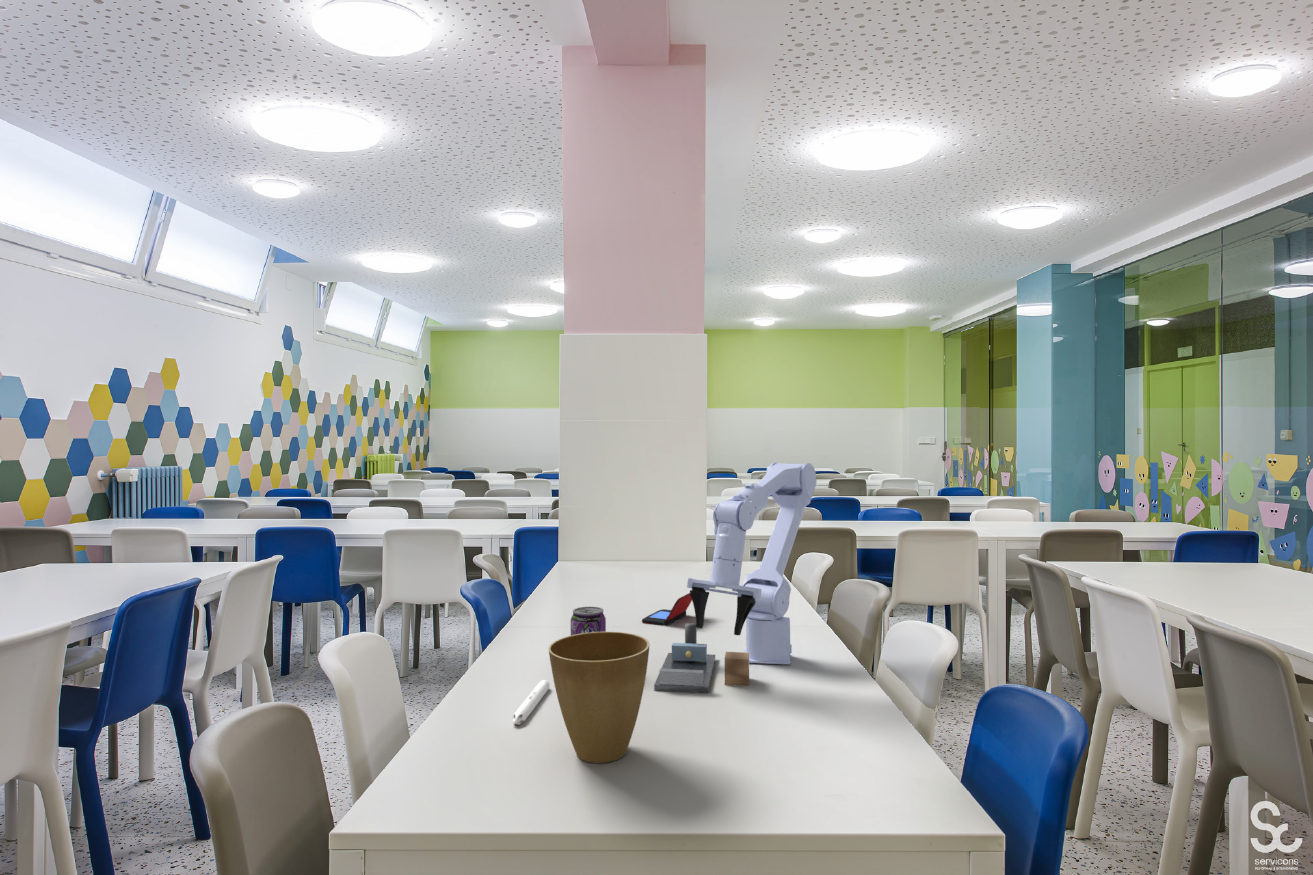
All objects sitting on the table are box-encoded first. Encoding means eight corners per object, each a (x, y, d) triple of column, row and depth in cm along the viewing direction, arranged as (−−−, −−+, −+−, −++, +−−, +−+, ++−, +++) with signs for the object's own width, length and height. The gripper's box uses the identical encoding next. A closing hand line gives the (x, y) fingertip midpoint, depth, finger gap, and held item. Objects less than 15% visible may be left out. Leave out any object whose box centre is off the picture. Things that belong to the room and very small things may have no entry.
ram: (674, 652, 149) (674, 622, 149) (708, 653, 148) (707, 623, 148) (671, 661, 143) (671, 630, 143) (705, 663, 142) (705, 631, 142)
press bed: (668, 657, 150) (668, 640, 150) (715, 659, 148) (715, 642, 148) (654, 690, 130) (654, 671, 130) (708, 692, 129) (708, 673, 129)
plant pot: (598, 724, 115) (598, 625, 115) (670, 749, 105) (669, 641, 105) (527, 755, 103) (527, 646, 103) (601, 787, 94) (600, 666, 94)
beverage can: (563, 671, 141) (563, 611, 141) (583, 662, 147) (583, 604, 147) (593, 677, 138) (593, 615, 138) (612, 666, 144) (612, 608, 144)
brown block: (749, 678, 137) (749, 652, 137) (748, 686, 132) (748, 659, 132) (725, 677, 137) (725, 651, 137) (724, 685, 133) (724, 658, 133)
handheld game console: (661, 613, 190) (661, 585, 190) (698, 617, 185) (698, 589, 185) (639, 623, 179) (639, 594, 179) (678, 628, 174) (678, 598, 174)
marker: (521, 729, 113) (521, 715, 113) (508, 729, 113) (508, 714, 113) (550, 691, 131) (549, 678, 131) (539, 690, 131) (539, 677, 131)
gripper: (686, 553, 138) (675, 624, 135) (758, 563, 132) (749, 638, 129) (697, 557, 144) (688, 625, 141) (767, 567, 138) (758, 638, 135)
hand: (717, 631), depth 136 cm, fingers open, 7 cm apart
